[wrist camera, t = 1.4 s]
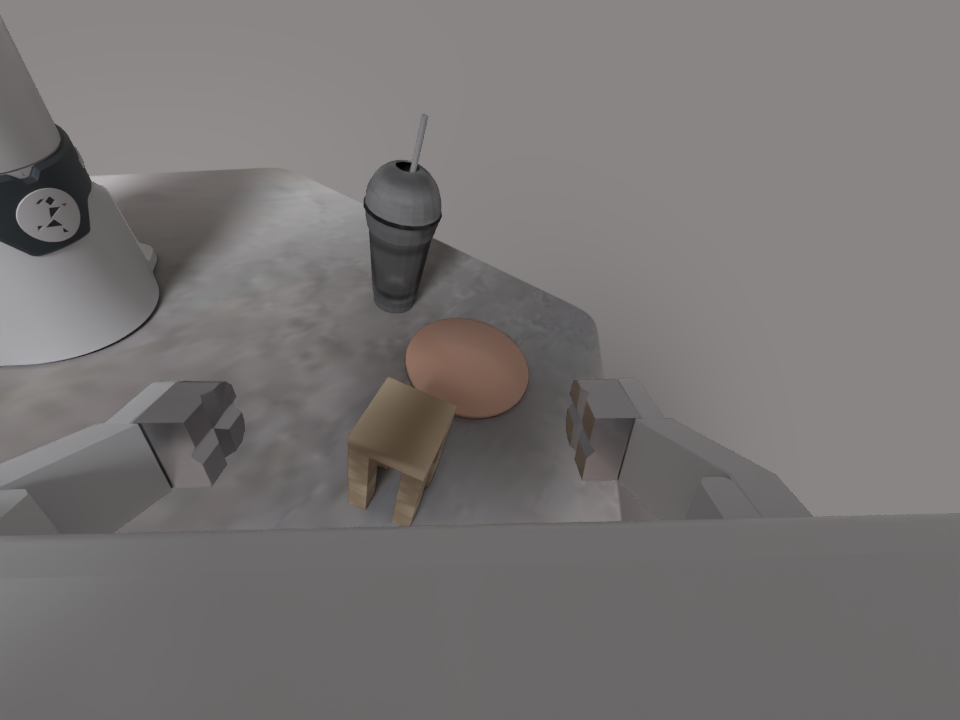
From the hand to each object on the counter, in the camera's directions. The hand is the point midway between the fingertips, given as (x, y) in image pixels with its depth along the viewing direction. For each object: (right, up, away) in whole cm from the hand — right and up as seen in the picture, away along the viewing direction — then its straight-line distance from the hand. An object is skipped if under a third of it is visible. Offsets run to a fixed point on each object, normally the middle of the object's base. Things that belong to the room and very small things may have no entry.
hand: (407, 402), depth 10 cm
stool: (-5, -9, +23) cm, 25 cm away
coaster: (+1, 0, +33) cm, 33 cm away
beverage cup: (-8, +8, +37) cm, 39 cm away
